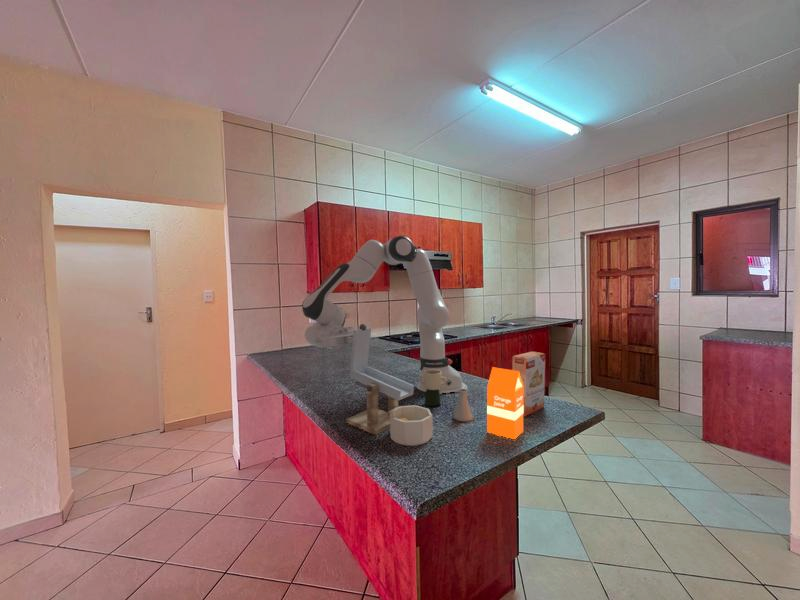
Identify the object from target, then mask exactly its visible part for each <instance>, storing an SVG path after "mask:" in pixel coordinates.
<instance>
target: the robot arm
mask: <svg viewBox="0 0 800 600" xmlns="http://www.w3.org/2000/svg"><path fill="white" fill-rule="evenodd" d="M382 264H384V265H388V266H396V265H400V264H402V265H403V266H404V267H405V269H406V272H407V276H408V279H409V282H410V286H411V289H412V293H413V295H414V297H415V299H416V301H417V304H418V306H419V307H418V308H417V311H416V316H417V324H418V333H419V342H420V344H419V345H420V348H419V349H420V356H419V361H418V362H419V363H418V364H419V365H418V366H419V375H424V371H425V370H429V369H435V370H440V371H441V372H442V377H446V385H445V386H444V385H442V386H441V388H440V389H439V393H440V395H443V394H442V393H446V394H451V393H450V392H455V393H459V391H458V389H467V390H468V385H467V384H466V383H465V382H463V379H462V376H461V374H460V373H459V371H457V370H456V369H455V368H453V367H452V366H451V365H452V364H453V360H451V358H449V357H446V349H445V348H446V346H445V345H446V341H445V337H444V333H443V328H444V327H445V326H447V325H448V323H449V322H450V319H451V315H450V311H449V309H448V308H447V306H446V303H445V301H444V298H443V297H442V294H441V292H440V290H439V287H438V284H437V281H436V278H435V275H434V271H433V268H432V267H433V266H432V264H431V262H430V259H429V257H428V255H427V253H426V251H425V250H423V248H417V246H415V244H414V242H413V241H412V240H411V239H410V238H409V237H407V236H405V235H397V236H394V237H392V238H390V239H388V240H387V242H385V243H381V242H380V241H379V240H376V239H369V240H367V241H366V242H365V243H364V244H363V245H362V246H361V247H360V248H359V250H358V251H357V252H356V254H354V256H353V258H352V259H351V260H350V261H349V262H346V263H345V262H343V263H341V264H339V265H338V266H337V267H336V268H334V269H333V270H332V271H331V273H329V275H328V276H327V277H326V278H325V279H324V280H323V281H322V282H321V284H320V285H318V287H317V288H316V289H314V291H312V292H311V293H310V294H308V295H307V297H306V298H304V300H303V302H302V304H301V309H302V312H303V315H304V316H305V317H306V318H308V319H310V320H313V321H314V322H315V323H313V324H312V325H309V326H307V328H306V329H305V330H304V337H305V340H306V342H308V344H310V345H312V346H314V347H317V348H318V347H319V348H327V349H331V350H336V351H337V350H341V349H343V348H344V347H347V346H351V345H352V344H353V333H354V329H356V328H355V327H354V326H353V327H352V326H351V327H350V326H344V325H345V323H346V319H347V318H346V312H345V310H344V309H343V308H341V307H339V306H338V305H337V304H334V303H333V302H332V301H330V300H329V299H328V297H329V296H330V294H332V292H333V291H334V290H335V289H336V288H337V287H338V286H339V285H340V284H341V283H342V282H345V281H348V282H352V283H357V284H363V283H368V282H370V280H372V278H373V277H374V276H375V274H376V272H377V271H378V269H379V268H380V266H381V265H382ZM422 381H424V378H423V377H422ZM442 383H444V379H442ZM416 389H418V390H419V391H421V392H424V393H426V390H427V389H426V388H424V383H420V382H419V381H417V385H416Z"/></svg>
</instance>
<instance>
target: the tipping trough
mask: <svg viewBox="0 0 800 600" xmlns="http://www.w3.org/2000/svg"><path fill="white" fill-rule="evenodd" d="M358 327H359V328H355V329H354V333H353V344H351V345H352V346H351V357H350V370H349V378H350V379H352V380H355V381H356V382H355V383H356V384H355V385H357V386H359V387H360V388H363V389H367V384H369V383H374V384H378V393H379V392H380V393H382V394H384V395H386V396H387V397H388V396H390V397H392V398H394V399H396V400H398V402H399V401H401V400H403V399H406V398H408V397H410V396H413V395H414V392H415V391H414V390H415V389H414V388H415V385H414V384H411V383H410V382H407V381H405V380H402V379H400V378H399V377H398V378H395V377H396V376H392V375H390V374H388V373H386V372H383V371H380V370H378V369H376V368H374V367H371V366H370V365H369V357H370V355H369V354H370V345H371V337H372V336H371V335H372V327H367V325H366V324H364V323H361V324H360V325H359V326H358Z"/></svg>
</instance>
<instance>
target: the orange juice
mask: <svg viewBox="0 0 800 600" xmlns="http://www.w3.org/2000/svg"><path fill="white" fill-rule="evenodd" d="M486 390H487V393H486V397H487V398H486V399H487V400H486V401H487V402H486V405H487V406H486V414H487V415H486V417H487V419H486V421H487V422H486V426H487V427H486V429H487V430H486V432H487V433H488V434H491V433H492V434H491V435H494V434H495V436H497V437H501V436H503V437H502V438H504V437H506V438H505V439H508V438H511V439H516V438H517V437H518V436H519V435H520V434H521V433H523V432H524V416H523V413H524V405H523V384H522V380H521V377H520V373H519V371H514V370H512V369H508V368H499V367H496V366H495V367H494V366H492V367H491V370H490V375H489V379H488V383H487V389H486ZM521 435H522V434H521ZM521 435H520V436H521ZM520 436H519V437H520ZM519 437H518V438H519ZM518 438H517V439H518ZM511 439H510V440H511ZM517 439H516V440H517Z"/></svg>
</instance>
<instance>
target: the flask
mask: <svg viewBox="0 0 800 600" xmlns="http://www.w3.org/2000/svg"><path fill="white" fill-rule="evenodd" d="M458 391H459V392H458V393H459V395H458V399H457V402H456V405H455V408H454V410H453V413H452V417H453V420H456V421H458V422H470V421H473V420H475V418H474V415H473V413H472V411H471V407H470V403H469V400H468V391H469V390H468V388H467V389H458Z"/></svg>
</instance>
